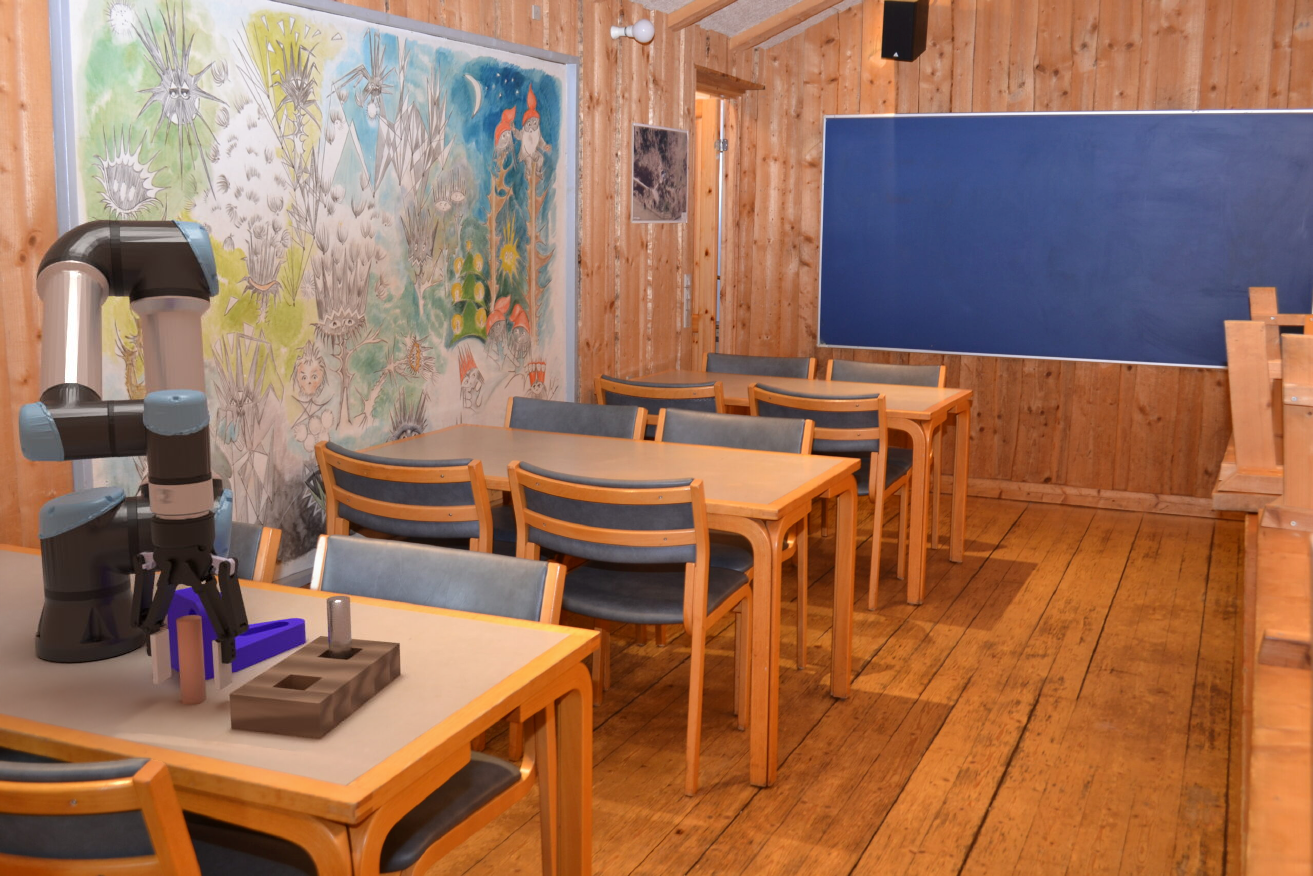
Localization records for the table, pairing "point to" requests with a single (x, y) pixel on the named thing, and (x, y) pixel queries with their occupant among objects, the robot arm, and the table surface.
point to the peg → (191, 659)
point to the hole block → (314, 689)
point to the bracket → (249, 645)
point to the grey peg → (339, 627)
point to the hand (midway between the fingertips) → (192, 682)
